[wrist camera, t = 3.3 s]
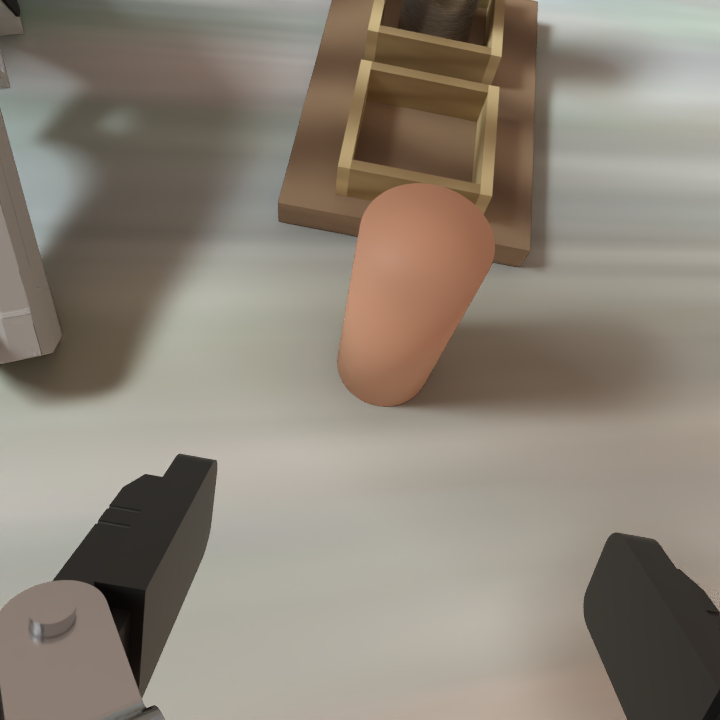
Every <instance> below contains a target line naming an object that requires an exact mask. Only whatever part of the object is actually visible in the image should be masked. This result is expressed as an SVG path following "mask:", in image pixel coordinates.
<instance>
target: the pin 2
mask: <svg viewBox="0 0 720 720" xmlns="http://www.w3.org/2000/svg"><path fill="white" fill-rule="evenodd" d="M494 254H495V241H494V236H493V232H492V229H491V227H490V225H489V223H488V221H487V219H486V218H485V216H484V215H483V213H482V212H481V211H480V210H479V209H478V208H477V207H476V206H475V205H474V204H473V203H472V202H471V201H469V200H468V199H467V198H465V197H464V196H462V195H460V194H459V193H457V192H455V191H453V190H450V189H448V188H445V187H442V186H438V185H433V184H426V183H412V184H405V185H400V186H397V187H394V188H391V189H389V190H387V191H385V192H383V193H382V194H380V195H379V196H378V197H376V198H375V199H374V200H373V201H372V202H371V203H370V205H369V206H368V207H367V209H366V210H365V212H364V214H363V217H362V219H361V223H360V228H359V234H358V240H357V246H356V252H355V258H354V263H353V269H352V275H351V281H350V287H349V293H348V299H347V305H346V311H345V316H344V322H343V328H342V334H341V340H340V346H339V352H338V360H337V363H338V371H339V374H340V377H341V379H342V381H343V383H344V384H345V386H346V387H347V389H348V390H349V391H350V392H351V393H352V394H353V395H355V396H356V397H357V398H359V399H360V400H362V401H364V402H366V403H369V404H372V405H377V406H395V405H399V404H402V403H405V402H407V401H409V400H410V399H412V398H413V397H414V396H416V395H417V394H418V393H419V391H420V390H421V389H422V387H423V386H424V384H425V382H426V381H427V379H428V377H429V375H430V373H431V372H432V370H433V368H434V366H435V365H436V363H437V361H438V359H439V358H440V356H441V354H442V352H443V351H444V349H445V347H446V345H447V343H448V342H449V340H450V338H451V336H452V335H453V333H454V331H455V329H456V328H457V326H458V324H459V322H460V321H461V319H462V317H463V315H464V313H465V312H466V310H467V308H468V306H469V305H470V303H471V301H472V299H473V298H474V296H475V294H476V292H477V291H478V289H479V287H480V285H481V283H482V282H483V280H484V278H485V276H486V275H487V273H488V271H489V269H490V267H491V265H492V262H493V259H494Z"/></svg>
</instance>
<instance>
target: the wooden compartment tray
mask: <svg viewBox="0 0 720 720" xmlns="http://www.w3.org/2000/svg"><path fill="white" fill-rule="evenodd" d="M401 5H402V0H332V3H331V6H330V10H329V14H328V18H327V21H326V25H325V29H324V33H323V36H322V40H321V44H320V48H319V51H318V55H317V59H316V62H315V66H314V70H313V74H312V77H311V81H310V85H309V89H308V92H307V96H306V100H305V103H304V107H303V111H302V115H301V118H300V122H299V126H298V130H297V133H296V137H295V141H294V145H293V148H292V152H291V156H290V159H289V163H288V167H287V171H286V174H285V178H284V182H283V186H282V189H281V193H280V197H279V201H278V217H279V221H280V222H285V223H290V224H295V225H301V226H306V227H311V228H316V229H322V230H327V231H332V232H337V233H343V234H348V235H353V236H358V234H359V228H360V223H361V219H362V217H363V214H364V212H365V210H366V209H367V207H368V206H369V205H370V203H371V202H372V201H373V200H374V199H375V198H376V197H378V196H379V195H380V194H382V193H383V192H385V191H387V190H389V189H391V188H394V187H397V186H400V185H405V184H412V183H426V184H433V185H438V186H442V187H445V188H448V189H450V190H453V191H455V192H457V193H459V194H460V195H462V196H464V197H465V198H467V199H468V200H469V201H471V202H472V203H473V204H474V205H475V206H476V207H477V208H478V209H479V210H480V211H481V212H482V213H483V215H484V216H485V218H486V219H487V221H488V223H489V225H490V227H491V229H492V232H493V236H494V241H495V254H494V259H493V262H495V263H501V264H506V265H511V266H516V267H520V266H521V264H522V263H523V261H524V260H525V258H526V257H527V255H528V254H529V252H530V242H531V209H532V176H533V143H534V110H535V77H536V44H537V11H538V2H537V1H532V0H480V2H479V5H478V8H477V12H476V15H475V18H474V22H473V25H472V28H471V32H470V35H469V38H468V41H467V43H466V42H461V41H456V40H451V39H446V38H441V37H436V36H431V35H426V34H422V33H417V32H412V31H407V30H402V29H398V22H399V17H400V11H401Z"/></svg>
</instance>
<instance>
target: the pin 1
mask: <svg viewBox="0 0 720 720" xmlns="http://www.w3.org/2000/svg"><path fill="white" fill-rule="evenodd" d="M479 2H480V0H402V5H401V11H400V17H399V22H398V29H402V30H407V31H412V32H417V33H422V34H426V35H431V36H436V37H441V38H446V39H451V40H456V41H461V42H466V43H467V41H468V38H469V35H470V32H471V28H472V25H473V22H474V18H475V15H476V12H477V8H478V5H479Z"/></svg>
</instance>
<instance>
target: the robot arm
mask: <svg viewBox="0 0 720 720" xmlns="http://www.w3.org/2000/svg"><path fill="white" fill-rule="evenodd" d="M216 476H217V461H216V460H212V459H206V458H201V457H195V456H190V455H184V454H178V455H177V456H176V458H175V459H174V461H173V462H172V464H171V465H170V467H169V468H168V470H167V471H166V473H165V474H164V476H163V477H159V476H153V475H148V474H145V475H143V476H141V477H140V478H138V479H136V480H135V481H133V482H131V483H130V484H128V485H126V486H124V487H123V488H122V489H121V491H120V492H119V493H118V495H117V496H116V497H115V499H114V500H113V501H112V503H111V504H110V507H109V509H106V511H105V512H104V513H103V515H102V516H101V517H100V519H99V520H98V524H95V525H94V527H93V528H92V529H91V531H90V532H89V533H88V535H87V536H86V537H85V539H84V540H83V541H82V543H81V544H80V545H79V547H78V548H77V549H76V550H75V552H74V553H73V554H72V556H71V557H70V558H69V560H68V561H67V562H66V564H65V565H64V566H63V568H62V569H61V570H60V572H59V573H58V574H57V576H56V577H55V578H54V580H53V581H51V582H47V583H43V584H40V585H36V586H34V587H32V588H29V589H27V590H25V591H23V592H22V593H20V594H18V595H17V596H15V597H14V598H13V599H11V600H10V601H9V602H8V603H7V604H6V605H5V606H4V607H3V608H2V609H1V611H0V720H165V718H164V716H163V715H162V713H161V711H160V710H159V708H158V707H157V706H155V705H154V706H151V707H148V708H146V707H145V705H144V703H143V701H142V697H143V695H144V693H145V690H146V688H147V686H148V683H149V681H150V679H151V676H152V674H153V672H154V669H155V667H156V665H157V662H158V660H159V658H160V655H161V653H162V651H163V648H164V646H165V644H166V641H167V639H168V637H169V635H170V632H171V630H172V628H173V625H174V623H175V621H176V618H177V616H178V614H179V611H180V609H181V607H182V604H183V602H184V600H185V597H186V595H187V593H188V590H189V588H190V586H191V583H192V581H193V579H194V576H195V574H196V572H197V569H198V567H199V565H200V563H201V560H202V558H203V555H204V552H205V549H206V546H207V542H208V538H209V534H210V528H211V521H212V512H213V503H214V494H215V485H216ZM584 618H585V622H586V625H587V628H588V630H589V632H590V634H591V637H592V639H593V641H594V644H595V646H596V648H597V651H598V653H599V655H600V658H601V660H602V662H603V664H604V667H605V669H606V671H607V674H608V676H609V678H610V681H611V683H612V685H613V688H614V690H615V692H616V694H617V697H618V699H619V701H620V704H621V706H622V708H623V711H624V713H625V715H626V718H627V720H720V612H719V611H718V609H717V608H716V606H715V605H714V604H713V602H712V601H711V600H710V598H709V597H708V596H707V594H706V593H705V591H704V590H703V589H702V588H700V587H699V586H698V585H697V584H696V583H695V582H693V581H692V580H691V579H690V578H689V577H688V576H687V575H685V574H684V573H683V572H682V571H681V570H680V569H676V567H675V566H674V564H673V563H672V562H671V560H670V559H669V557H668V556H667V555H666V553H665V552H664V550H663V549H662V547H661V546H660V545H659V543H658V542H657V541H655V540H654V539H650V538H645V537H639V536H633V535H628V534H622V533H613V534H611V535H610V536H609V538H608V539H607V541H606V544H605V546H604V548H603V551H602V553H601V556H600V558H599V561H598V563H597V565H596V568H595V570H594V573H593V575H592V577H591V580H590V582H589V585H588V587H587V590H586V593H585V597H584Z"/></svg>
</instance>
